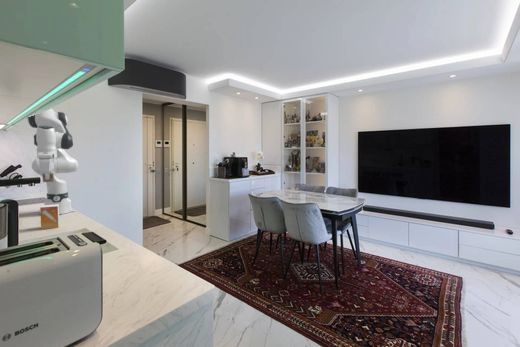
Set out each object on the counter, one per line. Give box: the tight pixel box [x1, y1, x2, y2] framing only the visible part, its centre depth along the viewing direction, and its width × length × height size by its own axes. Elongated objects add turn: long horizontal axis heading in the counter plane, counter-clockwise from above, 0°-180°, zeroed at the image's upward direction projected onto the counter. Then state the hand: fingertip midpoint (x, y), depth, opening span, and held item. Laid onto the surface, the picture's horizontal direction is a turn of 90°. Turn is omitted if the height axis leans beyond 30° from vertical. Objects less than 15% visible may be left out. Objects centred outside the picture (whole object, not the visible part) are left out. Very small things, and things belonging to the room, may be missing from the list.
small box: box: [39, 204, 60, 230], centre depth 153 cm, size 8×6×13 cm
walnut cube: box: [42, 173, 54, 183], centre depth 151 cm, size 4×4×4 cm
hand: (48, 178), depth 151 cm, fingers closed on walnut cube, 4 cm apart
